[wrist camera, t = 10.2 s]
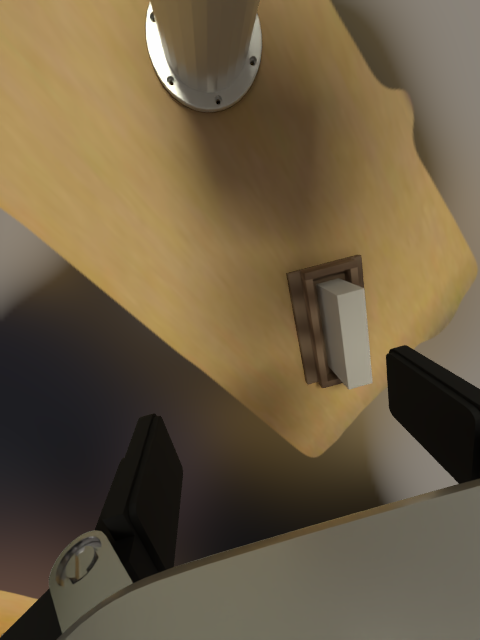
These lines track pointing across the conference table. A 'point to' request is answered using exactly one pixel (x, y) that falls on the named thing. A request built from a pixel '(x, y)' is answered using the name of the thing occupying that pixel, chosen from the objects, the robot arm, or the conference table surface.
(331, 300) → the light grey block
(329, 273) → the rack
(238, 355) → the conference table surface
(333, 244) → the conference table surface
